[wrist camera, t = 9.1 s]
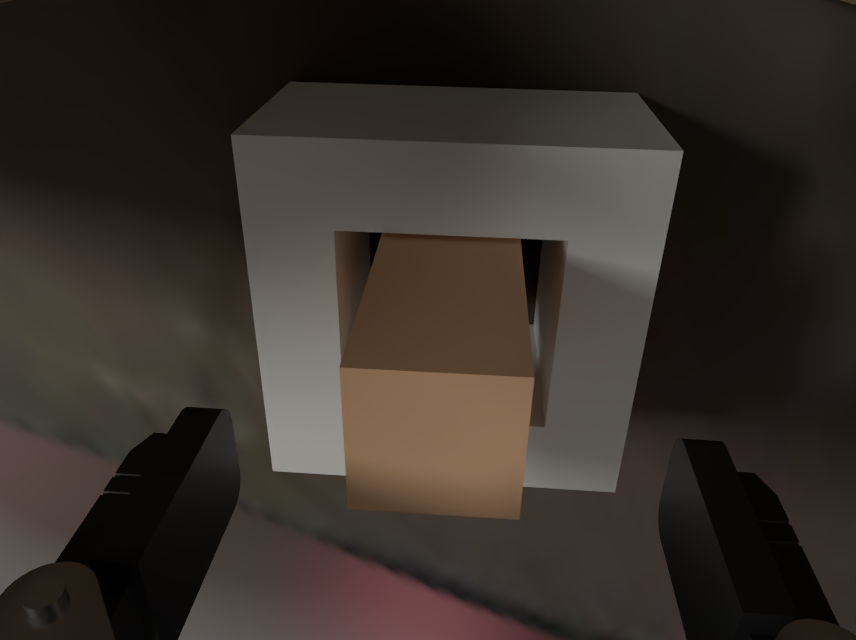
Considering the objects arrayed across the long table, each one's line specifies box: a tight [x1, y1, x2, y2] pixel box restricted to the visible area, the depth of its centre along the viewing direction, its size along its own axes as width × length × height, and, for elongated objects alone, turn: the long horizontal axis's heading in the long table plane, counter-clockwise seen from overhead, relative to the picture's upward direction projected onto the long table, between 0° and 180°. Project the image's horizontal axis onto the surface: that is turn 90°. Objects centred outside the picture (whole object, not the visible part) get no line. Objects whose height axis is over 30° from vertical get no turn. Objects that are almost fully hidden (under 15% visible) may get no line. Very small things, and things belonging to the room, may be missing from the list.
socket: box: [231, 82, 683, 492], centre depth 19 cm, size 9×9×5 cm
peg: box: [339, 233, 535, 520], centre depth 16 cm, size 3×3×10 cm
